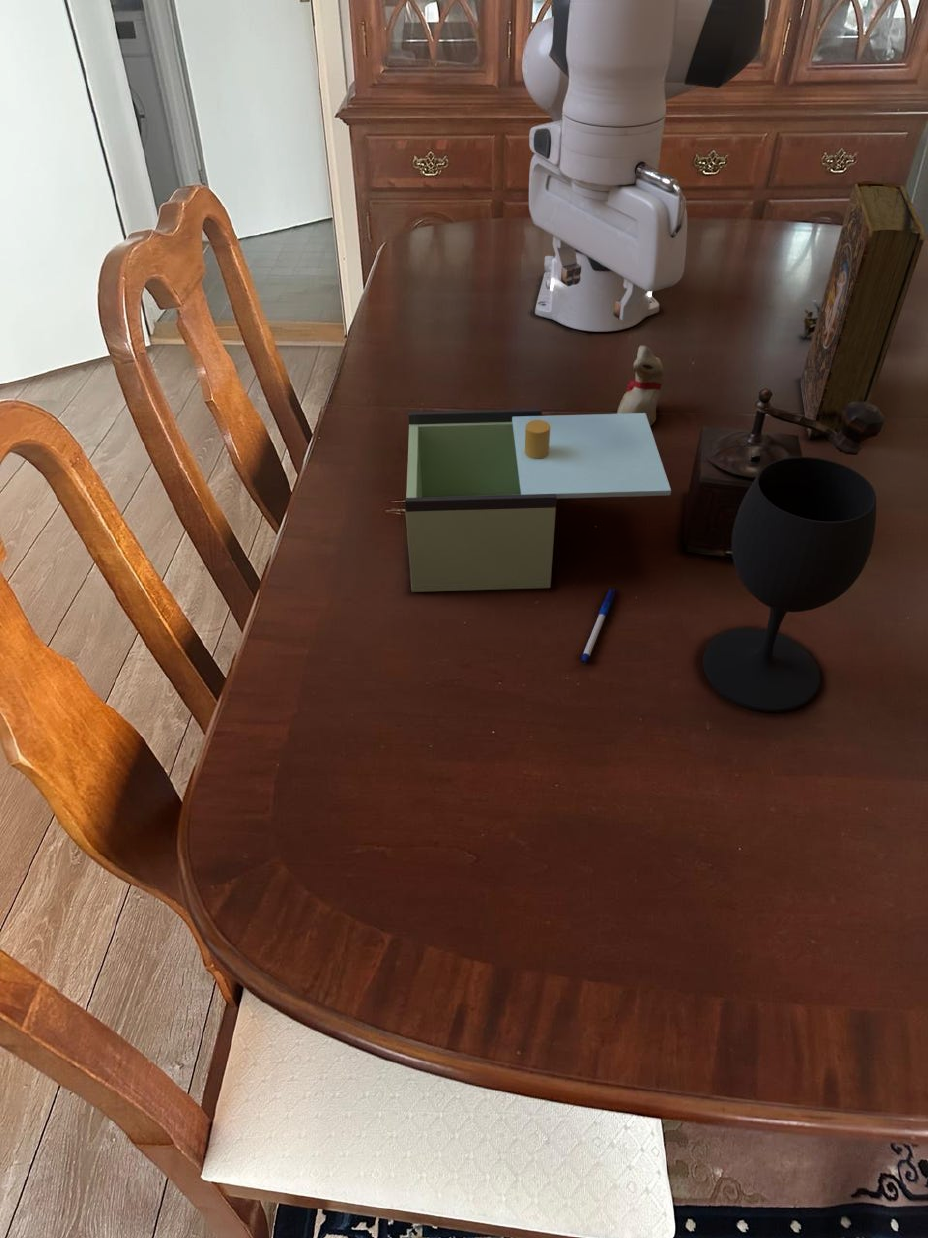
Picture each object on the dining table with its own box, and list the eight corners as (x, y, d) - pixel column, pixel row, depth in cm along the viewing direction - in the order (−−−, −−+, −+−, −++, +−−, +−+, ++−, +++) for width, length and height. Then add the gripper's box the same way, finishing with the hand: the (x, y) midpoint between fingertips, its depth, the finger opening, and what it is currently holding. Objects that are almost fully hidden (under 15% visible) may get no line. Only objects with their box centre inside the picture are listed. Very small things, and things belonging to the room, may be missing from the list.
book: (799, 377, 120) (852, 179, 103) (842, 380, 119) (902, 181, 102) (808, 442, 109) (869, 231, 91) (855, 446, 108) (926, 234, 91)
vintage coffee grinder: (682, 556, 93) (712, 402, 81) (685, 495, 101) (713, 346, 89) (837, 574, 91) (892, 418, 78) (828, 510, 99) (877, 359, 86)
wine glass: (753, 729, 76) (812, 546, 63) (678, 653, 83) (716, 472, 69) (845, 686, 80) (919, 504, 66) (765, 616, 86) (818, 437, 73)
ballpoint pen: (606, 591, 89) (607, 584, 88) (615, 593, 89) (616, 586, 88) (580, 663, 82) (581, 656, 81) (589, 666, 82) (590, 658, 81)
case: (414, 498, 101) (408, 411, 94) (537, 495, 102) (541, 407, 94) (411, 592, 90) (404, 501, 82) (550, 588, 90) (556, 497, 82)
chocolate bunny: (675, 419, 113) (687, 345, 106) (626, 437, 110) (635, 362, 103) (647, 400, 116) (657, 327, 110) (598, 417, 114) (606, 343, 107)
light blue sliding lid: (512, 421, 94) (512, 390, 91) (645, 417, 94) (649, 386, 91) (521, 499, 84) (522, 467, 81) (670, 495, 84) (676, 463, 81)
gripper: (717, 176, 73) (689, 334, 83) (574, 114, 86) (565, 258, 96) (656, 190, 71) (635, 351, 81) (519, 125, 84) (515, 270, 94)
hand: (596, 300), depth 88 cm, fingers open, 8 cm apart
